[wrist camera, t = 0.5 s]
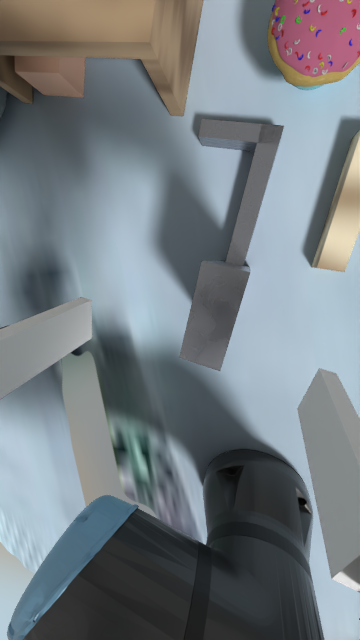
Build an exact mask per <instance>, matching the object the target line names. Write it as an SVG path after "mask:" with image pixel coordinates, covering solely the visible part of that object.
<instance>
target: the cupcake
mask: <svg viewBox="0 0 360 640" xmlns="http://www.w3.org/2000/svg"><path fill="white" fill-rule="evenodd" d="M268 47H269V52H270V54H271V56H272V59H273V61H274V63H275V65H276V66H277V67H278V68H279V70H280V71H281V72H282V74H283V76H284V78H285V80H286V81H287V82H288V83H290V84H293V85H294V86H296V87H297V88H299V89H302V90H312V89H316V88H318V87H320V86H322V85H324V84H328V83H333V82H337V81H339V80H341V79H343V78H344V77H345V76H347V75H348V74H349V73H350V72H351V71H352V70H353V69H354V68H355V67H356V66H357V65H358V64H359V63H360V0H276V1H275V4H274V6H273V8H272V14H271V18H270V22H269V27H268Z"/></svg>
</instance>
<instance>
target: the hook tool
mask: <svg viewBox="0 0 360 640" xmlns="http://www.w3.org/2000/svg"><path fill="white" fill-rule="evenodd" d="M283 128H284V126H281V125H269V124H257V123H246V122H234V121H223V120H211V119H201V125H200V130H199V135H198V137H199V139H200V142H201V144H202V146H210V147H219V148H227V149H236V150H245V151H254V152H255V153H254V156H253V160H252V164H251V168H250V171H249V175H248V179H247V183H246V187H245V190H244V194H243V198H242V202H241V205H240V209H239V213H238V217H237V220H236V224H235V228H234V232H233V236H232V239H231V243H230V247H229V251H228V254H227V258H226V262H225V261H202V262H201V266H200V270H199V275H198V279H197V283H196V288H195V292H194V296H193V301H192V305H191V309H190V314H189V318H188V322H187V327H186V331H185V335H184V340H183V344H182V348H181V353H180V357H179V358H182V359H185V360H188V361H191V362H194V363H197V364H200V365H203V366H206V367H209V368H212V369H215V370H218V371H220V370H221V367H222V363H223V360H224V357H225V354H226V350H227V347H228V344H229V340H230V337H231V334H232V331H233V327H234V324H235V321H236V317H237V314H238V311H239V308H240V304H241V301H242V298H243V294H244V291H245V288H246V285H247V281H248V278H249V275H250V267H247V266H244V262H245V259H246V255H247V252H248V248H249V245H250V242H251V238H252V235H253V231H254V228H255V224H256V221H257V218H258V214H259V211H260V207H261V204H262V200H263V197H264V194H265V190H266V187H267V183H268V180H269V177H270V173H271V170H272V166H273V163H274V159H275V156H276V153H277V149H278V146H279V142H280V139H281V135H282V131H283Z"/></svg>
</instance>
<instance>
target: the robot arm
mask: <svg viewBox="0 0 360 640" xmlns="http://www.w3.org/2000/svg"><path fill="white" fill-rule="evenodd" d="M91 338H92V303H91V300H89V299H86V298H83V297H80V298H77V299H75V300H72V301H70V302H67V303H65V304H62V305H60V306H57V307H55V308H52V309H50V310H47V311H45V312H42V313H40V314H37V315H35V316H32V317H30V318H27V319H25V320H22V321H20V322H17V323H15V324H12V325H9V326H5V327H2V328H0V399H2V398H3V397H5V396H6V395H8V394H9V393H11V392H12V391H14V390H15V389H17V388H18V387H20V386H21V385H23V384H24V383H26V382H27V381H29V380H30V379H32V378H33V377H35V376H36V375H38V374H39V373H41V372H42V371H43V370H45V369H46V368H48V367H49V366H51V365H52V364H54V363H55V362H57V361H58V360H60V359H61V358H63V357H64V356H66V355H67V354H69V353H70V352H72V351H73V350H75V349H76V348H78V347H79V346H81V345H82V344H84V343H85V342H87V341H88V340H90V339H91ZM297 409H298V414H299V419H300V424H301V429H302V434H303V439H304V444H305V449H306V454H307V459H308V464H309V469H310V474H311V479H312V484H313V489H314V494H315V499H316V504H317V509H318V514H319V519H320V524H321V528H322V533H323V538H324V543H325V548H326V553H327V558H328V563H329V568H330V573H331V578H332V579H333V580H335V581H337V582H339V583H341V584H343V585H345V586H347V587H349V588H351V589H354V590H356V591H358V592H360V419H359V417H358V415H357V413H356V411H355V409H354V407H353V405H352V403H351V401H350V399H349V397H348V395H347V393H346V391H345V389H344V387H343V385H342V383H341V382H340V380H339V378H338V376H337V374H336V373H333V372H330V371H327V370H323V369H320V368H319V370H318V371H317V373H316V375H315V377H314V379H313V381H312V383H311V384H310V386H309V388H308V390H307V392H306V394H305V396H304V397H303V399H302V401H301V403H300V405H299V407H298V408H297ZM203 499H204V508H205V516H206V525H207V534H208V536H207V544H206V545H204V544H203V543H201V542H199V541H197V540H196V539H194V538H192V537H190V536H188V535H186V534H185V533H183V532H181V531H179V530H177V529H175V528H173V527H172V526H170V525H168V524H166V523H164V522H162V521H160V520H159V519H157V518H155V517H153V516H151V515H149V514H147V513H146V512H144V511H142V510H140V509H138V507H139V506H138V505H131V504H129V503H127V502H125V501H122V500H120V499H118V498H116V497H114V496H111V495H104V496H101V497H99V498H97V499H95V500H94V501H93V502H91V503H90V504H89V505H88V506H87V507H86V508H85V509H84V510H83V511H82V512H81V513H80V514H79V515H78V516H77V517H76V519H75V520H74V521H73V522H72V523H71V525H70V526H69V527H68V528H67V530H66V531H65V532H64V533H63V535H62V536H61V537H60V539H59V540H58V541H57V543H56V544H55V545H54V547H53V548H52V550H51V551H50V552H49V554H48V555H47V557H46V558H45V560H44V561H43V563H42V564H41V566H40V567H39V569H38V570H37V572H36V574H35V575H34V577H33V578H32V580H31V582H30V583H29V585H28V587H27V588H26V590H25V592H24V594H23V595H22V597H21V599H20V601H19V603H18V604H17V606H16V608H15V611H14V613H13V616H12V619H11V622H10V624H9V626H8V632H7V636H8V639H9V640H324V636H323V631H322V626H321V621H320V616H319V611H318V606H317V601H316V596H315V591H314V587H313V582H312V577H311V572H310V566H309V557H310V546H311V535H312V525H313V511H312V505H311V501H310V497H309V494H308V490H307V488H306V486H305V484H304V482H303V480H302V479H301V478H300V476H299V475H298V474H297V473H296V472H295V471H294V470H293V469H292V468H291V467H290V466H288V465H287V464H286V463H284V462H283V461H281V460H279V459H277V458H275V457H273V456H271V455H268V454H265V453H262V452H258V451H253V450H234V451H229V452H226V453H223V454H221V455H219V456H218V457H216V458H215V459H214V460H213V461H212V462H211V463H210V465H209V466H208V468H207V471H206V474H205V479H204V485H203ZM359 620H360V619H359Z"/></svg>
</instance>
